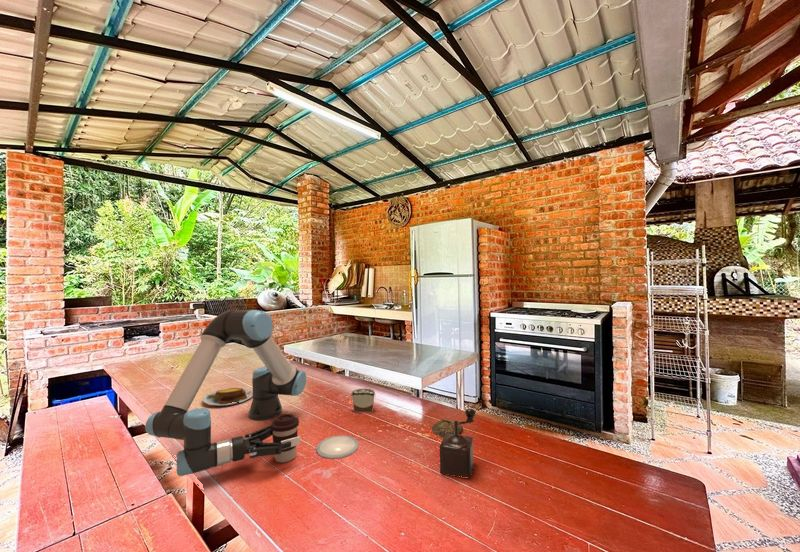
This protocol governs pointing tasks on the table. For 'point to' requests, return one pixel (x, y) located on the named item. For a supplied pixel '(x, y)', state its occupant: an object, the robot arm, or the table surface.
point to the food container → (363, 400)
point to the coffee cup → (285, 435)
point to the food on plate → (227, 396)
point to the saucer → (337, 447)
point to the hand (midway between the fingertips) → (295, 433)
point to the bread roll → (445, 427)
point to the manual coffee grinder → (458, 451)
